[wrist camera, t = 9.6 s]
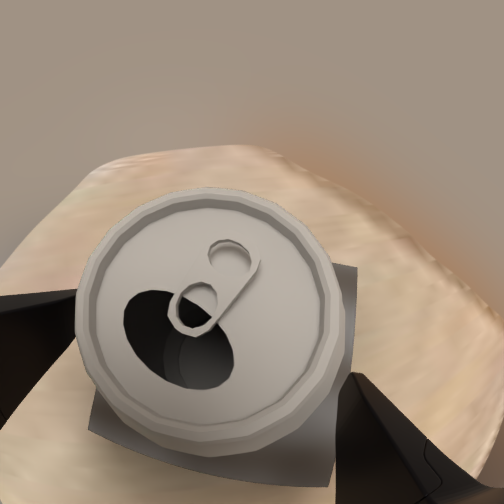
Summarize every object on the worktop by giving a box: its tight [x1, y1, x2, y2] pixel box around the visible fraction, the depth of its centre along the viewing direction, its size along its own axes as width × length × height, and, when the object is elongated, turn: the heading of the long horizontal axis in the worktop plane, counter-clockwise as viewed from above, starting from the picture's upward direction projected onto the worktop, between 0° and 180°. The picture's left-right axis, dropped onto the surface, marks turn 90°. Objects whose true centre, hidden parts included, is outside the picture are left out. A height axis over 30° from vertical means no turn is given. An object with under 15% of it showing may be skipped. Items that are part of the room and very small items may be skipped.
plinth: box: [88, 263, 357, 487], centre depth 17 cm, size 16×16×3 cm
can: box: [75, 187, 345, 457], centre depth 11 cm, size 8×8×12 cm
